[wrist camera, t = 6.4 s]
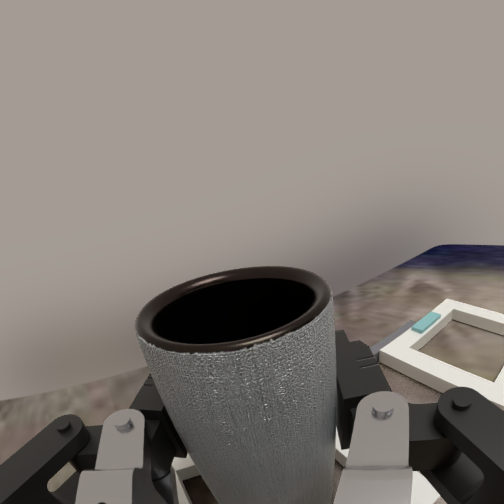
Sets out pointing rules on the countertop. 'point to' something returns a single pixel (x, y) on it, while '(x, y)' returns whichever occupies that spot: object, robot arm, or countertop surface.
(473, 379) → the socket
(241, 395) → the planter
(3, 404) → the countertop surface
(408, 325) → the thin gray bar
